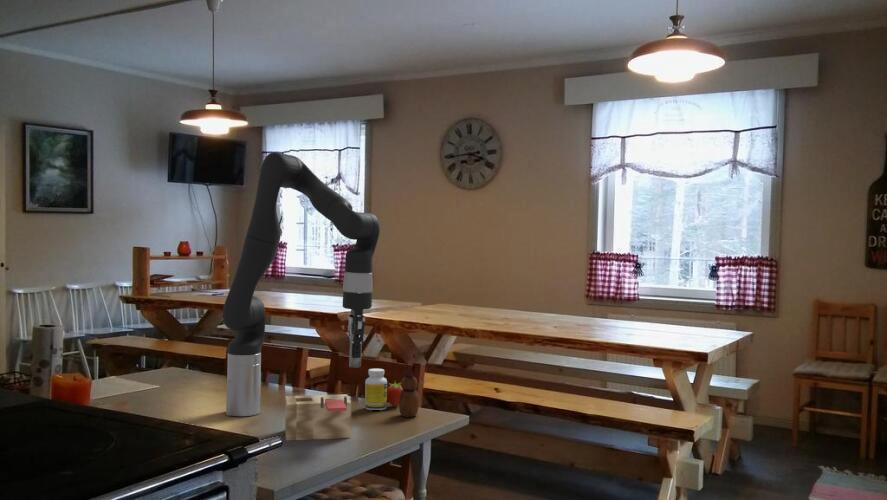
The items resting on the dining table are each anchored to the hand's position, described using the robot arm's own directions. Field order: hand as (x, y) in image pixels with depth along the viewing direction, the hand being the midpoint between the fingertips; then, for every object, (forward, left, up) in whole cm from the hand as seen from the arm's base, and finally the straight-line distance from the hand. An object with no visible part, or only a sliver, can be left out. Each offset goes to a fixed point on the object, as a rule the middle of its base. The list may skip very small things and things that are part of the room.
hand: (355, 356), depth 197 cm
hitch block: (-9, +2, -20) cm, 22 cm away
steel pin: (0, 0, -3) cm, 3 cm away
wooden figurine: (+18, +18, -20) cm, 32 cm away
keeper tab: (-6, -9, -11) cm, 15 cm away
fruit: (+16, +30, -20) cm, 39 cm away
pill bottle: (+10, +28, -20) cm, 36 cm away
